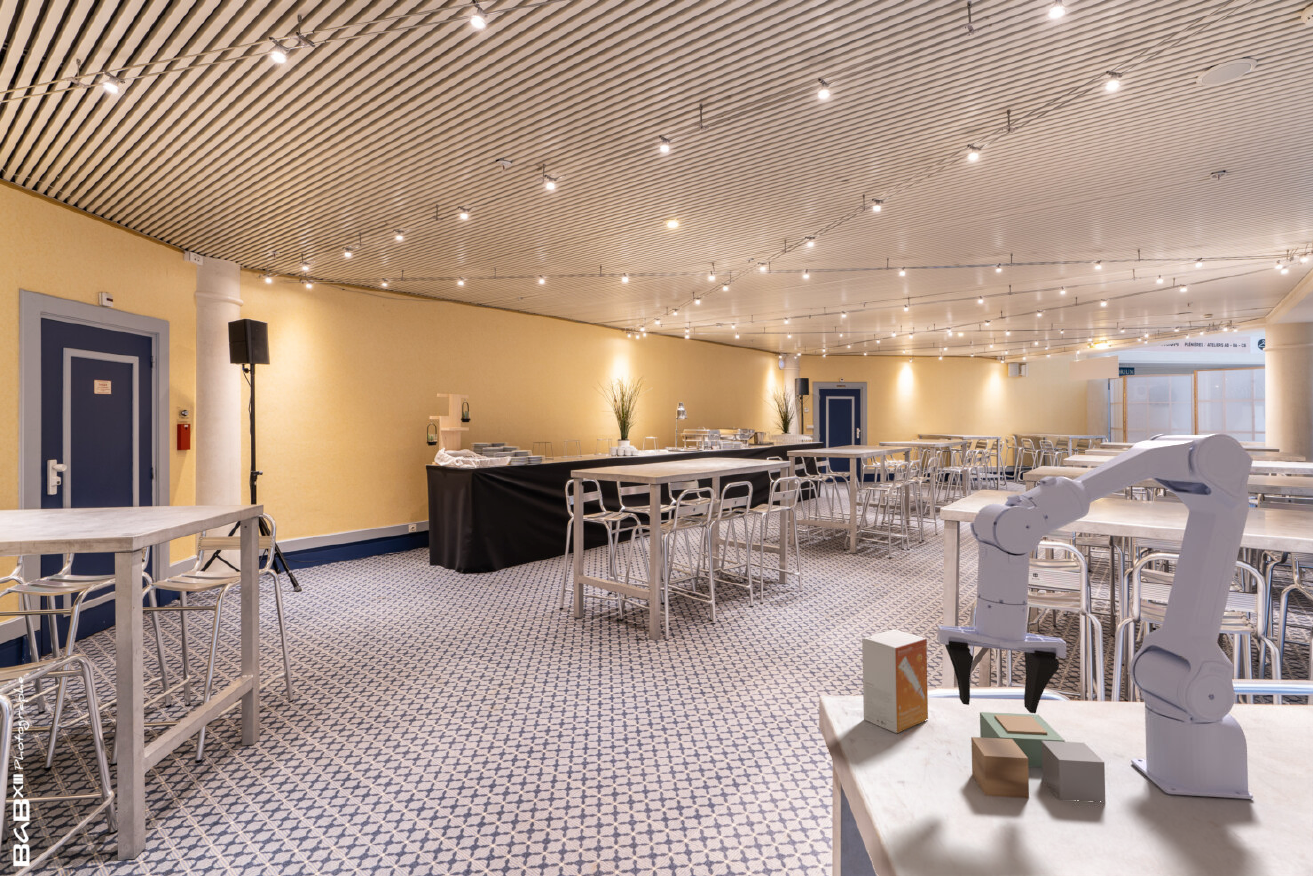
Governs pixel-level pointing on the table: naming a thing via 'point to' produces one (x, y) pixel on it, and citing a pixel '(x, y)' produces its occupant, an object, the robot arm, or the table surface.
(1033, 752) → the green block
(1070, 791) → the grey cube
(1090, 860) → the table surface
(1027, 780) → the walnut cube
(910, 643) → the small box
